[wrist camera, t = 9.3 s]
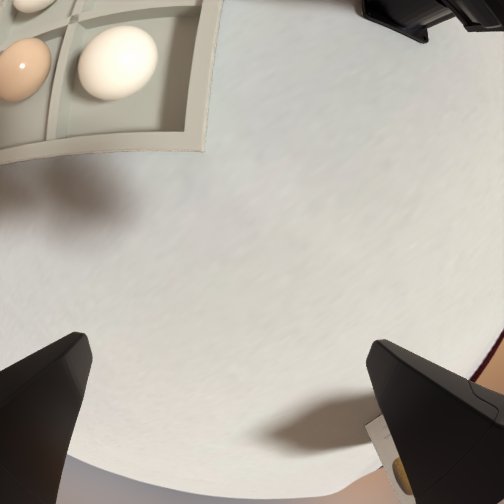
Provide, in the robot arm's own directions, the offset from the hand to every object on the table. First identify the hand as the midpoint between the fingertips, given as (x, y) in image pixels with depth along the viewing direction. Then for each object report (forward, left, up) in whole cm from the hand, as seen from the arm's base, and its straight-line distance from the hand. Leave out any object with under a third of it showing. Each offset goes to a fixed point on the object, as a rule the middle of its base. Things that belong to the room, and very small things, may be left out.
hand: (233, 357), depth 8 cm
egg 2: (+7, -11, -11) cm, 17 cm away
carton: (+12, -16, -12) cm, 23 cm away
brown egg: (+16, -11, -10) cm, 23 cm away
